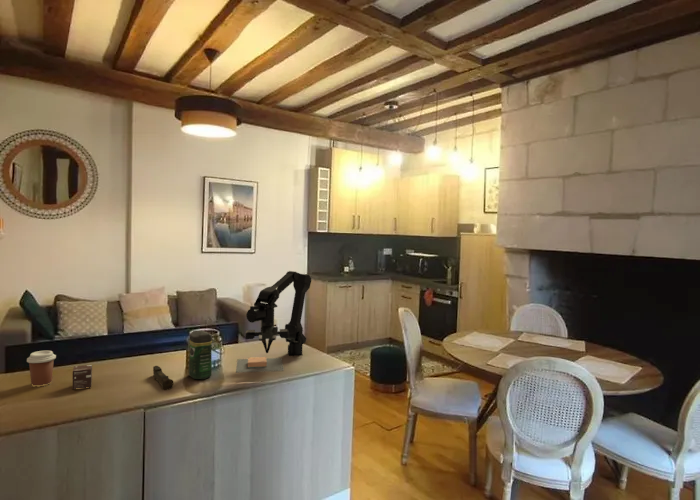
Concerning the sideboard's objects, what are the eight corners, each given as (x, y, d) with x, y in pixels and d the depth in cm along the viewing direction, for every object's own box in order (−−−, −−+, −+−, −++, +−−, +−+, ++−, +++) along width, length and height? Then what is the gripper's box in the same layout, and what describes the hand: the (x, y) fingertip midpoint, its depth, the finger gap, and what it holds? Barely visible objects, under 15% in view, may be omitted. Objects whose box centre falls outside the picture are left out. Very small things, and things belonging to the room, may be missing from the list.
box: (72, 390, 161) (72, 371, 160) (73, 385, 166) (73, 366, 166) (91, 388, 164) (91, 369, 163) (92, 383, 169) (92, 364, 169)
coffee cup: (53, 378, 172) (53, 348, 172) (58, 384, 166) (58, 353, 165) (24, 383, 166) (24, 352, 165) (29, 390, 160) (28, 358, 159)
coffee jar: (214, 377, 179) (215, 332, 178) (195, 381, 174) (195, 335, 173) (205, 371, 186) (205, 327, 185) (186, 374, 181) (187, 330, 180)
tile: (266, 357, 198) (248, 357, 197) (266, 361, 192) (247, 362, 190) (266, 362, 199) (248, 362, 197) (266, 367, 192) (247, 367, 190)
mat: (281, 359, 206) (281, 357, 206) (283, 372, 188) (283, 370, 188) (237, 360, 201) (237, 359, 201) (235, 373, 184) (235, 372, 184)
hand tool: (173, 389, 166) (173, 377, 166) (162, 391, 163) (162, 379, 163) (161, 374, 181) (161, 363, 181) (151, 376, 179) (151, 364, 179)
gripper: (245, 323, 184) (244, 359, 185) (289, 322, 188) (289, 357, 189) (246, 317, 195) (245, 351, 196) (288, 316, 199) (287, 350, 200)
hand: (267, 352), depth 195 cm, fingers closed
